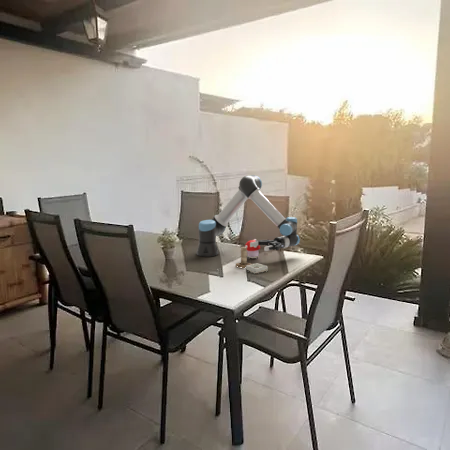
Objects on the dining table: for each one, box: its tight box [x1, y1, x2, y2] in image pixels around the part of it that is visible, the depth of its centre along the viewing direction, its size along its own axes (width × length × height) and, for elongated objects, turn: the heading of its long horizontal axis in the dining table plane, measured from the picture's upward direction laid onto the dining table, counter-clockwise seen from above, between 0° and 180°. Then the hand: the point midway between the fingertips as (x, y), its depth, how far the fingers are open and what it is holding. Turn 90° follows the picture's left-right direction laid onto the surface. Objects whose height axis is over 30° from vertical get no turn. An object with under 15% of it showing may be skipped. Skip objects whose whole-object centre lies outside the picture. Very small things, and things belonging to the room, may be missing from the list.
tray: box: [245, 262, 269, 272], centre depth 231 cm, size 9×9×3 cm
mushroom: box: [244, 238, 261, 257], centre depth 261 cm, size 11×11×12 cm
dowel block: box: [235, 262, 252, 269], centre depth 240 cm, size 7×7×2 cm
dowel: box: [240, 246, 248, 265], centre depth 239 cm, size 4×4×12 cm
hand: (257, 246), depth 243 cm, fingers open, 12 cm apart
